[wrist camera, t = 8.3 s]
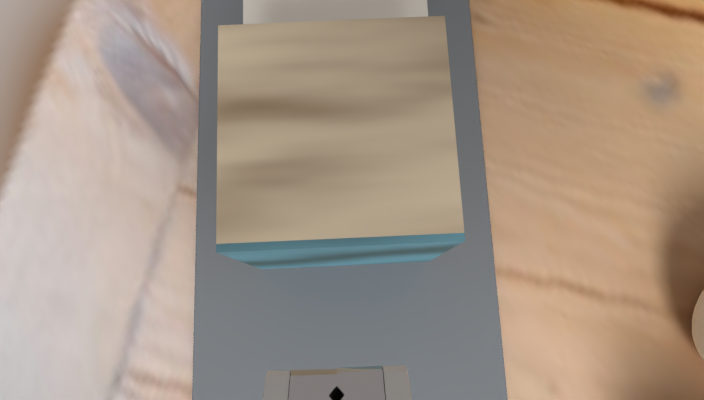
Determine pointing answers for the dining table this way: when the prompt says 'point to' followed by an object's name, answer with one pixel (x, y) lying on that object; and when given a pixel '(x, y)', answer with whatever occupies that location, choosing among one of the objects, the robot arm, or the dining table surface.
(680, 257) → the dining table surface
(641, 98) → the dining table surface
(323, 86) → the maple cube
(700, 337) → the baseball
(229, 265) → the charcoal mat
